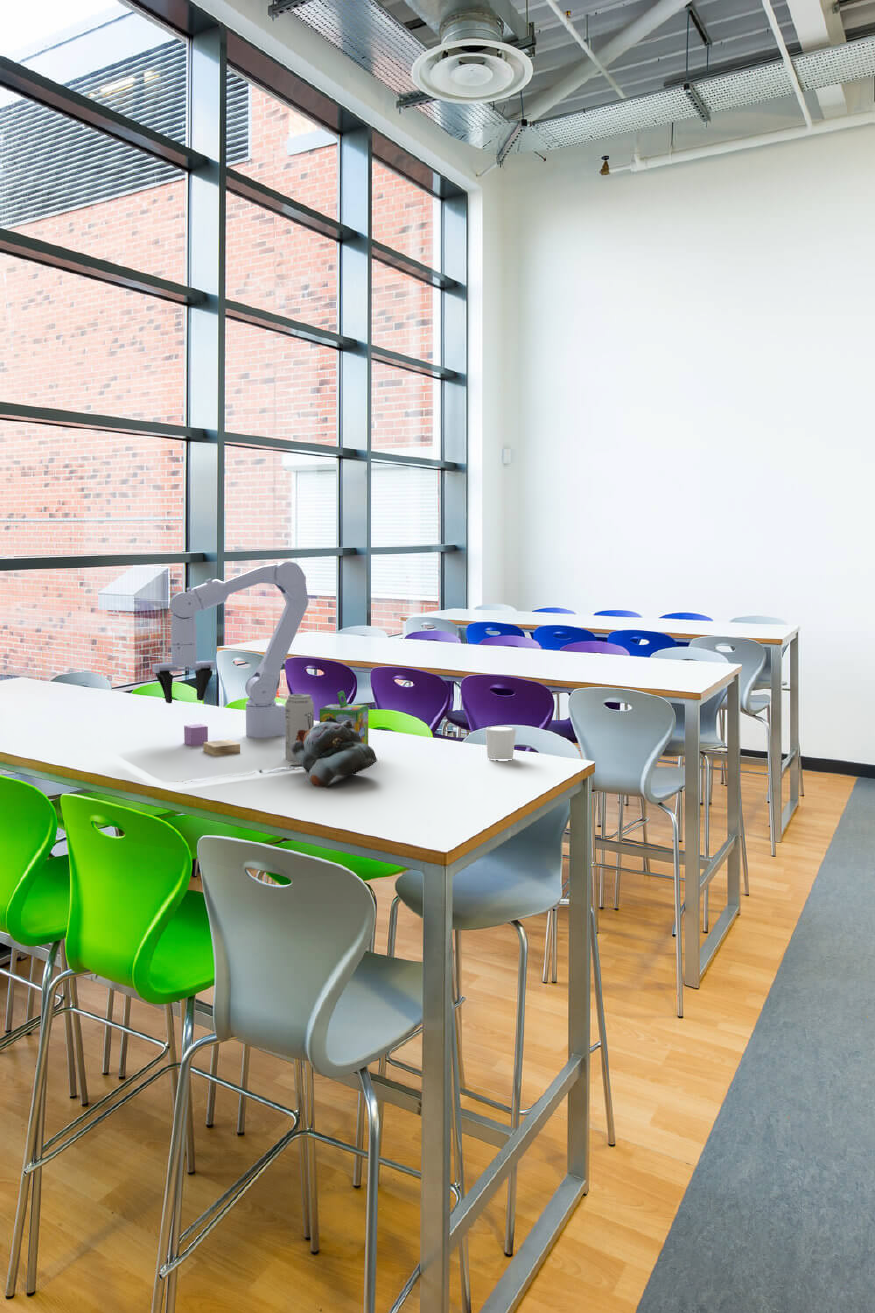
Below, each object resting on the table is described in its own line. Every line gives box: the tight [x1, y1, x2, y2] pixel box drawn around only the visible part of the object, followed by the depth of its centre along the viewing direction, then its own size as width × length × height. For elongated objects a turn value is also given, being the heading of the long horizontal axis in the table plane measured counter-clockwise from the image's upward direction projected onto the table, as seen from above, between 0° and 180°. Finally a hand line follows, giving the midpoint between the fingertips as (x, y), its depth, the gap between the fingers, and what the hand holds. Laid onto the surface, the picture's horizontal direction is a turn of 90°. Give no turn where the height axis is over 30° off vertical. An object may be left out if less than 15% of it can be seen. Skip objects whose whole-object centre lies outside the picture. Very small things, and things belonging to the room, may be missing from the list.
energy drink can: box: [284, 693, 315, 768], centre depth 192 cm, size 6×6×15 cm
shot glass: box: [485, 725, 517, 760], centre depth 202 cm, size 7×7×7 cm
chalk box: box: [319, 690, 369, 746], centre depth 201 cm, size 9×9×15 cm
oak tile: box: [202, 739, 241, 757], centre depth 198 cm, size 6×6×2 cm
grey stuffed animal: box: [290, 717, 378, 788], centre depth 180 cm, size 15×12×14 cm
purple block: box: [183, 723, 209, 747], centre depth 207 cm, size 4×4×6 cm
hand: (184, 701), depth 211 cm, fingers open, 7 cm apart
